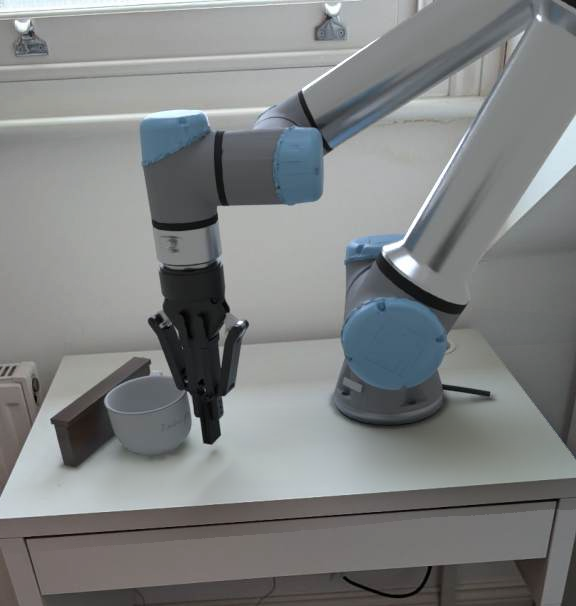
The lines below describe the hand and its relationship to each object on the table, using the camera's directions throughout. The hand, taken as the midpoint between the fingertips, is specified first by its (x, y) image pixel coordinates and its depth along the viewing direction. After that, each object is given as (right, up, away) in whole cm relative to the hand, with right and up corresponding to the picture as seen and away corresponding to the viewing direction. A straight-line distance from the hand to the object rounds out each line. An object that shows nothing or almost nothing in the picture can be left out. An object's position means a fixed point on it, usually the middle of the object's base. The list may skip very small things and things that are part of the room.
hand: (212, 439), depth 106 cm
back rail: (-15, +2, +7) cm, 16 cm away
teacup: (-8, 0, +4) cm, 9 cm away
